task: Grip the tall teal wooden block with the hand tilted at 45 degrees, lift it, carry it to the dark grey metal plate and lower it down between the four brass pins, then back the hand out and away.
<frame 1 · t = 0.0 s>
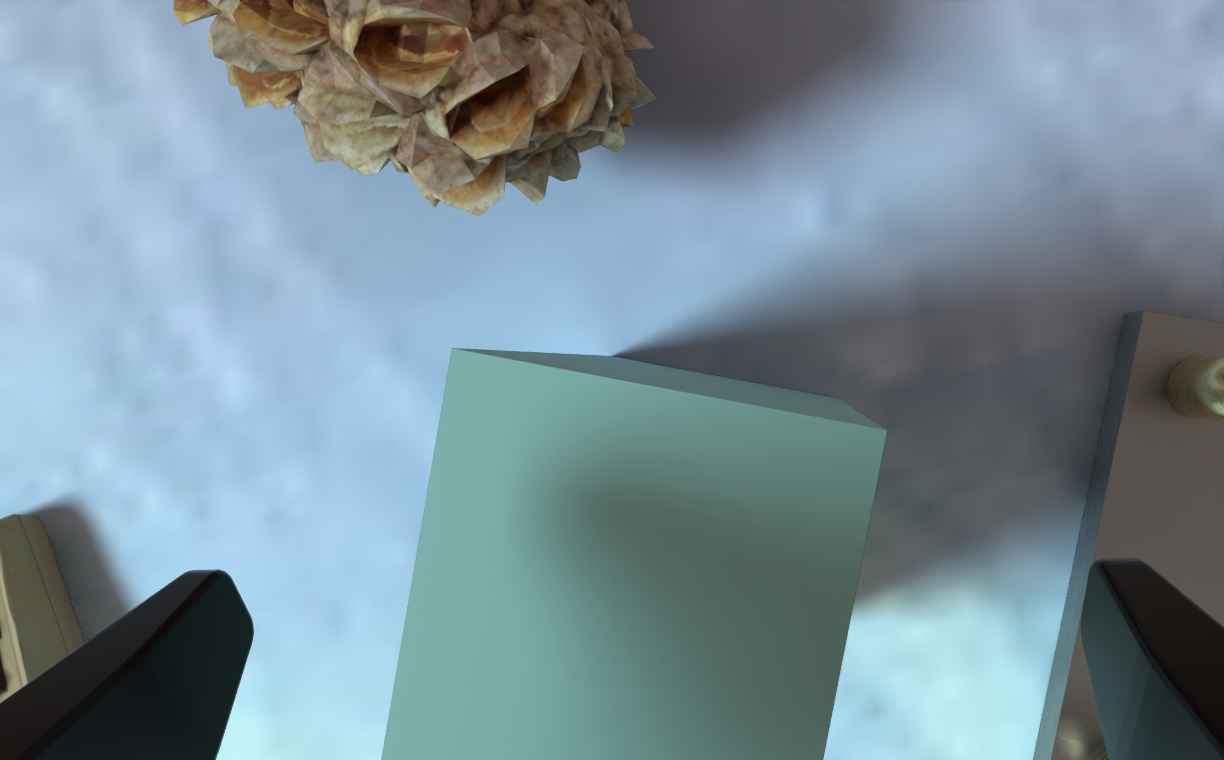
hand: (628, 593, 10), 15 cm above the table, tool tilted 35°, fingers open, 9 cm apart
teal block: (700, 489, 25), on the table
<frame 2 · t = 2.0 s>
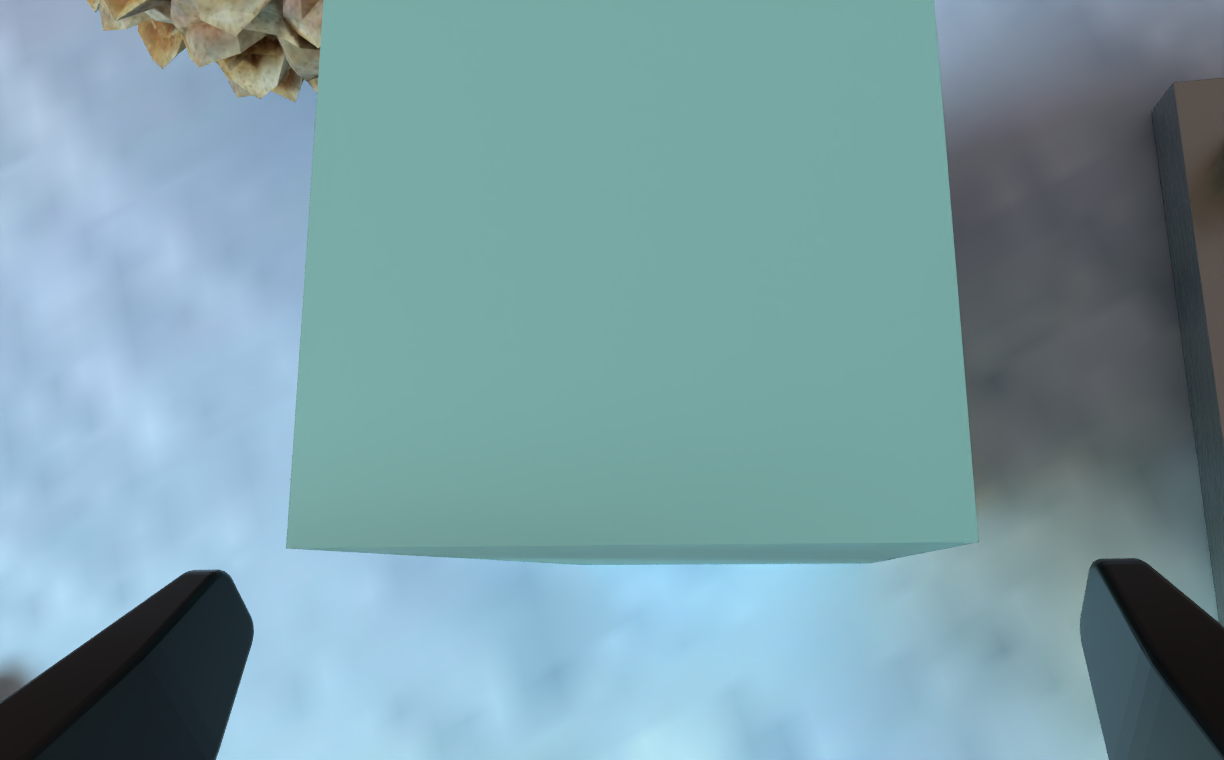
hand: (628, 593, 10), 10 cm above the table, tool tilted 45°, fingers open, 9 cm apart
teal block: (718, 421, 20), on the table
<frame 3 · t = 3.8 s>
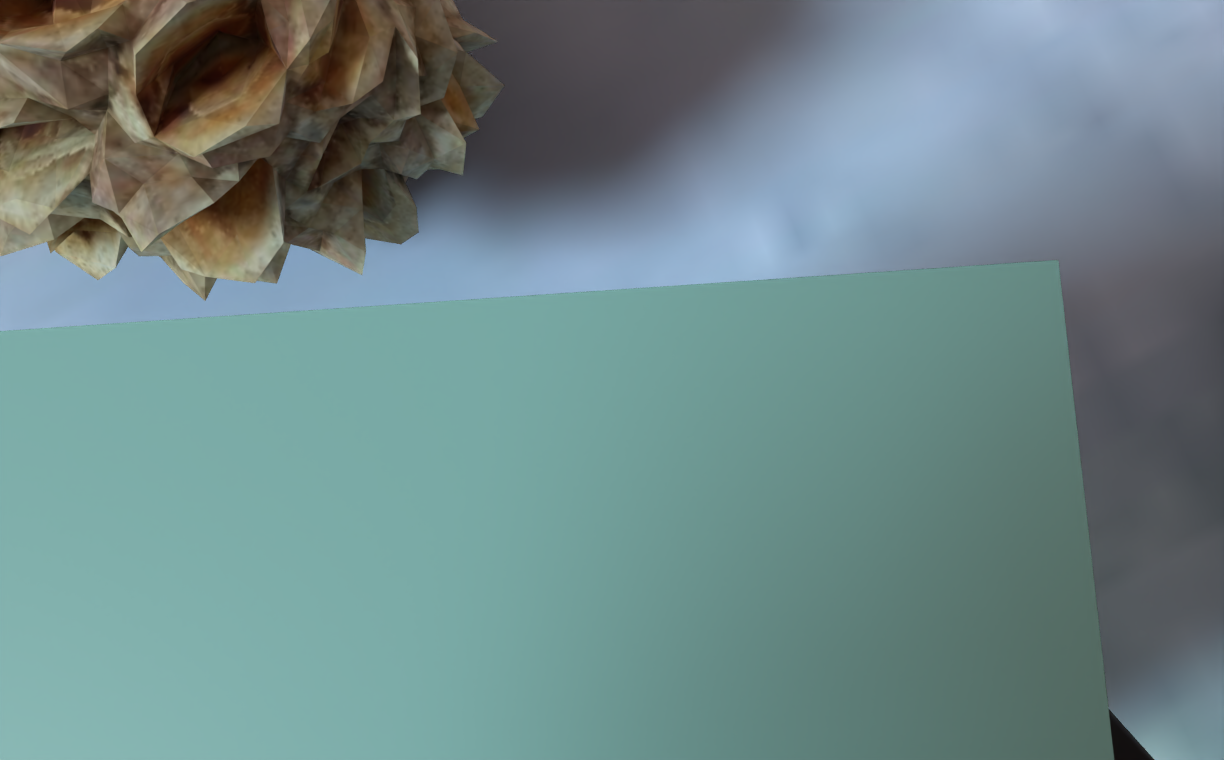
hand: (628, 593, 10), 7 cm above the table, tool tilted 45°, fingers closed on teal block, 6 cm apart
pine cone: (144, 43, 21), on the table
teal block: (697, 669, 16), on the table, touching gripper
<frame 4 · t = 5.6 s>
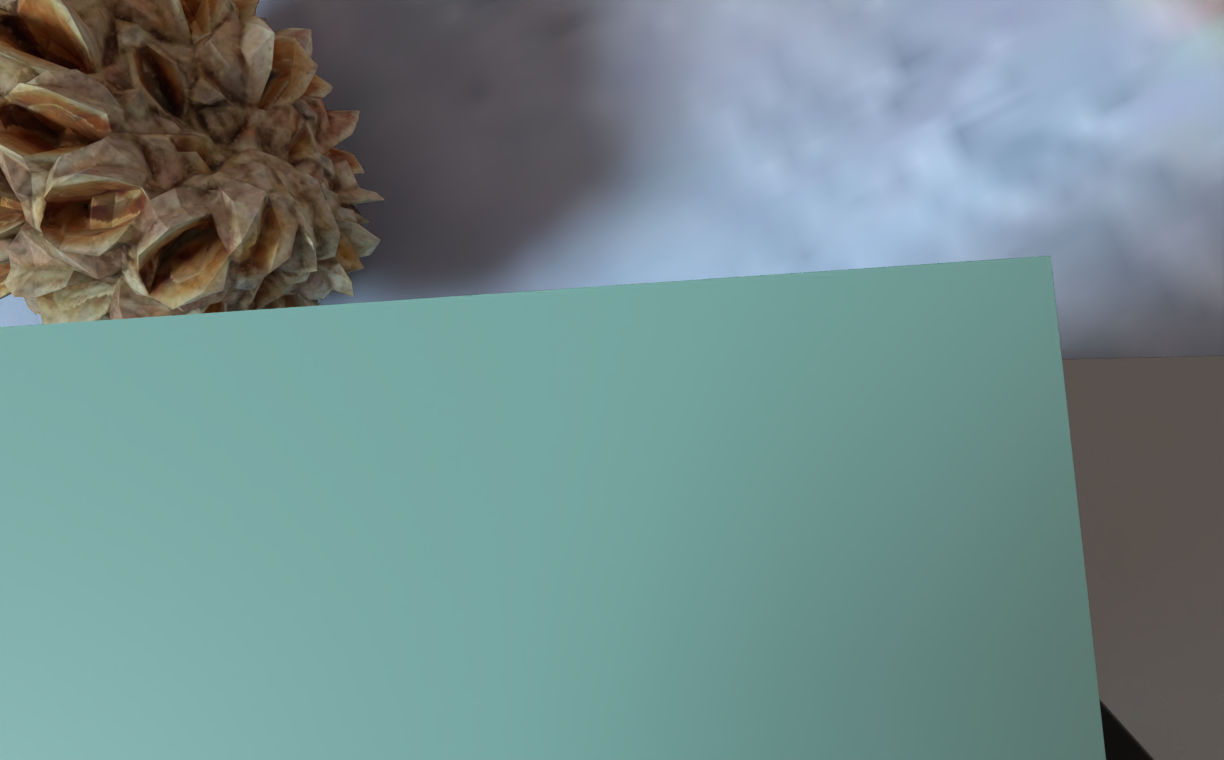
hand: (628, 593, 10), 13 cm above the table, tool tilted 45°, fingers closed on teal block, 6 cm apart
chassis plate: (1185, 636, 20), on the table
pine cone: (147, 158, 28), on the table
teal block: (695, 668, 16), point 7 cm above the table, touching gripper
when the fingers open (9 cm above the table, at t = 7.8 s): teal block drops 1 cm, resting on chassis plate.
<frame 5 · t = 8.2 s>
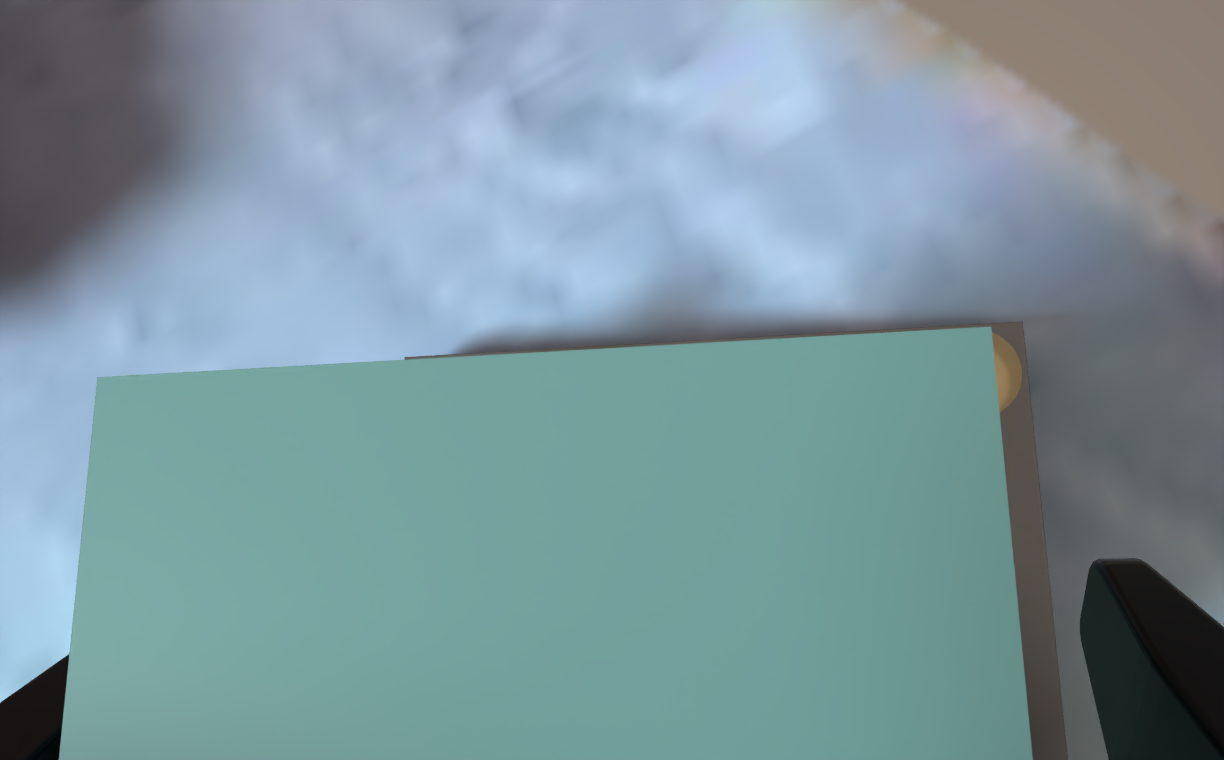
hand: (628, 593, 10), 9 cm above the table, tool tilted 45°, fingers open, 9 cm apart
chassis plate: (710, 655, 18), on the table
teal block: (701, 661, 17), point 1 cm above the table, touching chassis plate
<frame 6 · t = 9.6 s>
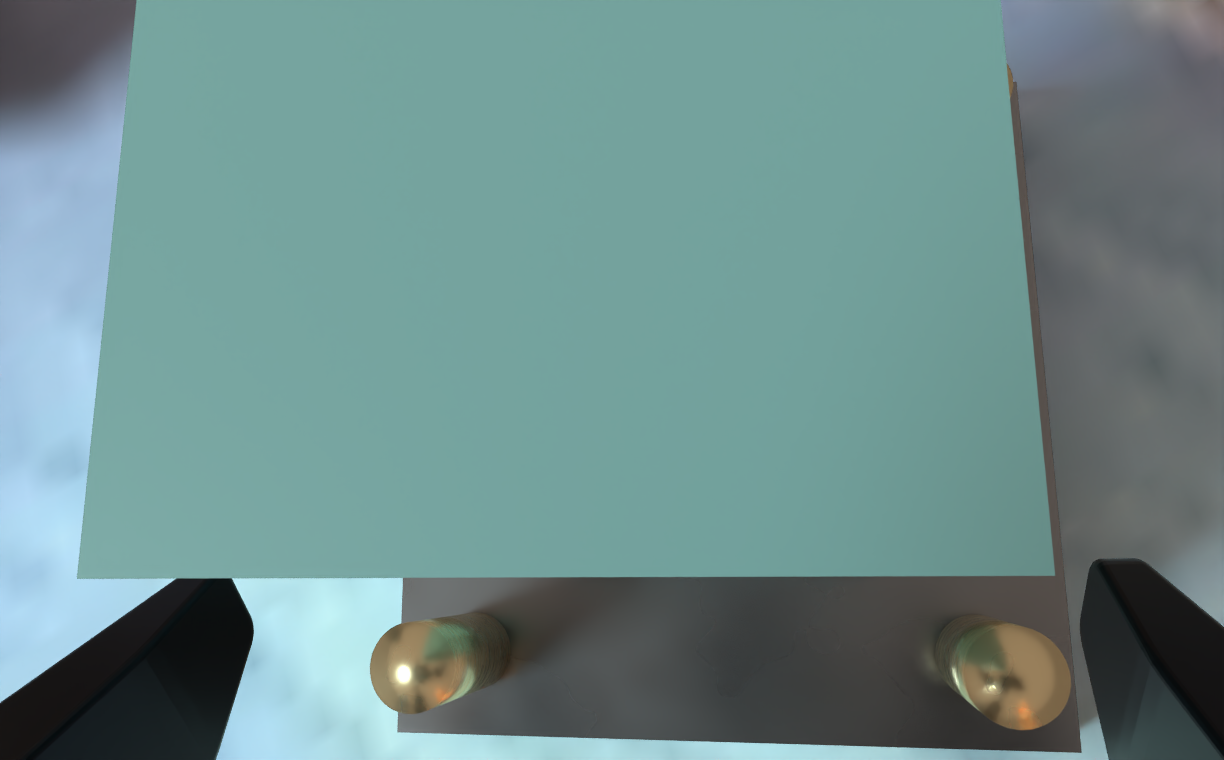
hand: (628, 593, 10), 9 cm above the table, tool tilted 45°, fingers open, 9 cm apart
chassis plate: (713, 416, 19), on the table
teal block: (704, 406, 18), point 1 cm above the table, touching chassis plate
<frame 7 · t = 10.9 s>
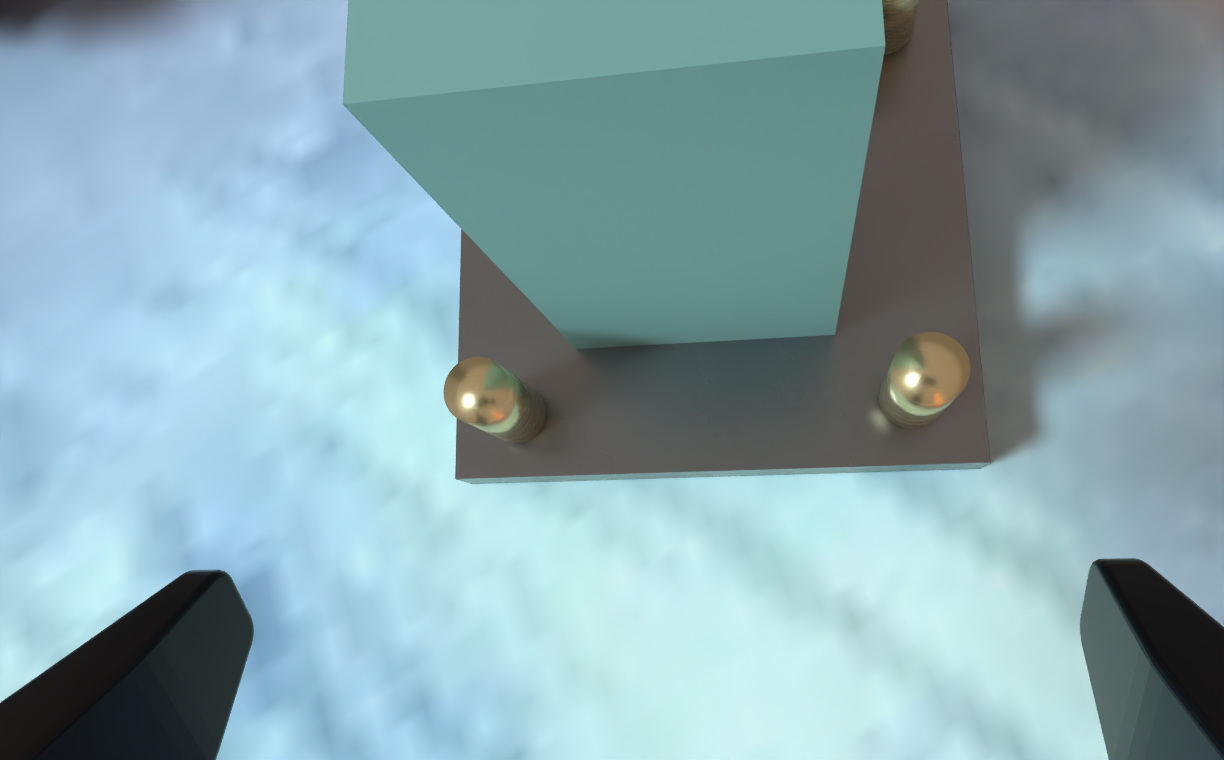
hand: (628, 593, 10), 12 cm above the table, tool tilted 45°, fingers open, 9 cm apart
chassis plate: (705, 237, 23), on the table
teal block: (698, 220, 22), point 1 cm above the table, touching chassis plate
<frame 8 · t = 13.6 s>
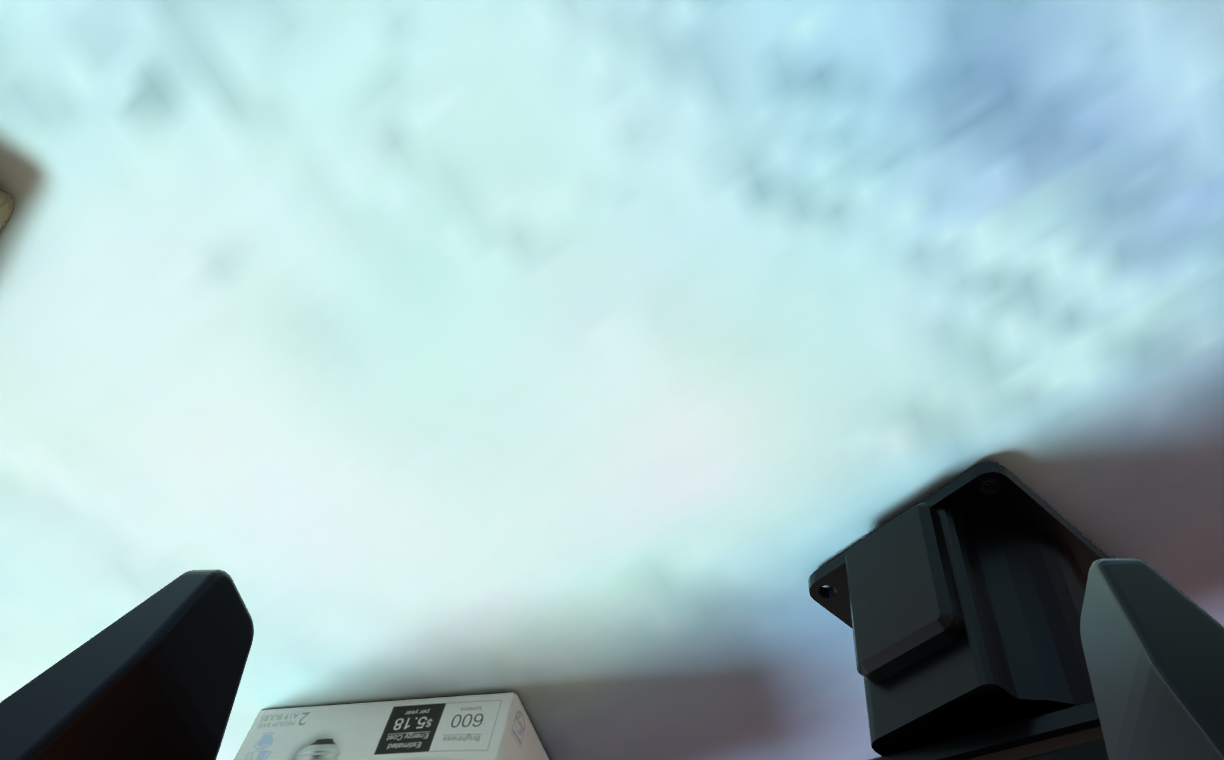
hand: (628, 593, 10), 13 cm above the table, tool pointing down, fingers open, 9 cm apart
light bulb box: (417, 750, 35), on the table
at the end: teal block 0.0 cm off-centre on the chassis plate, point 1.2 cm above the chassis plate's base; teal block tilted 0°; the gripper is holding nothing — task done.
